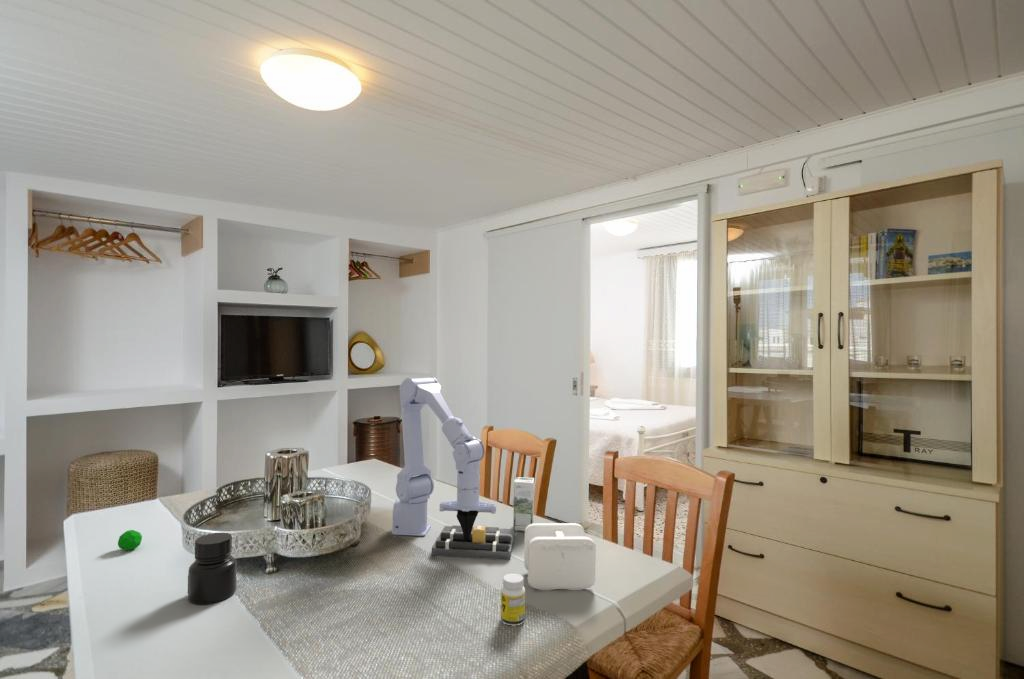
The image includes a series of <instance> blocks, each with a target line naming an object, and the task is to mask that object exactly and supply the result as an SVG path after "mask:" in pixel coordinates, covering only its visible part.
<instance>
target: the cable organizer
mask: <svg viewBox="0 0 1024 679" xmlns="http://www.w3.org/2000/svg"><path fill="white" fill-rule="evenodd" d="M585 531H586V530H585V529H584V527H583V526H582V525H581V524H579V523H577V522H576V523H575V522H574V523H573V522H569V523H567V522H561V523H557V522H556V523H553V522H552V523H550V522H548V523H546V522H544V523H543V522H542V523H541V522H540V523H538V522H537V523H535V522H534V523H533V524H530V525H528V526H527V527H526V528H525V531H524V545H523V546H524V548H523V549H524V551H523V552H524V555H523V558H524V560H523V561H524V562H523V564H524V568H525V569H526V570H527V582H528V584H529V586H530V587H531V588H532V589H536V590H538V591H553V590H568V591H581V590H583V589H584V590H585V589H590V588H592V587H594V585H595V583H596V562H597V561H596V560H597V559H596V551H597V548H596V543H595V541H594V540H593V539H592V538H591V537H588V536H585V535H586V532H585Z"/></svg>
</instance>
